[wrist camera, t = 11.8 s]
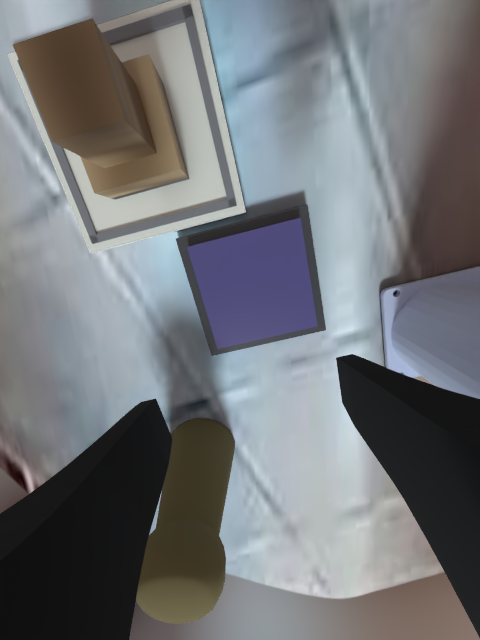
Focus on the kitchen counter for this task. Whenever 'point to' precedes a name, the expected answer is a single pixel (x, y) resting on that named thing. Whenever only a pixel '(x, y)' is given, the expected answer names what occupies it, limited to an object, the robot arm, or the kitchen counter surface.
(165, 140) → the stamp
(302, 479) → the kitchen counter surface
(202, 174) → the board
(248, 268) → the ink pad
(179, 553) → the cork
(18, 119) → the kitchen counter surface
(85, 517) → the robot arm
